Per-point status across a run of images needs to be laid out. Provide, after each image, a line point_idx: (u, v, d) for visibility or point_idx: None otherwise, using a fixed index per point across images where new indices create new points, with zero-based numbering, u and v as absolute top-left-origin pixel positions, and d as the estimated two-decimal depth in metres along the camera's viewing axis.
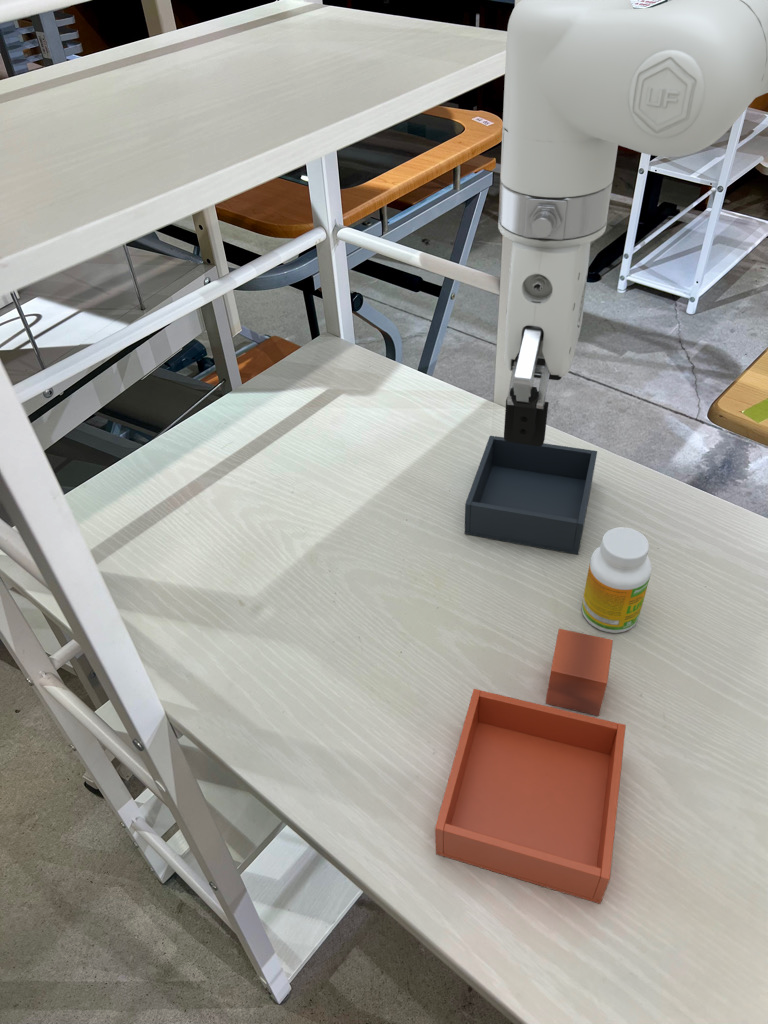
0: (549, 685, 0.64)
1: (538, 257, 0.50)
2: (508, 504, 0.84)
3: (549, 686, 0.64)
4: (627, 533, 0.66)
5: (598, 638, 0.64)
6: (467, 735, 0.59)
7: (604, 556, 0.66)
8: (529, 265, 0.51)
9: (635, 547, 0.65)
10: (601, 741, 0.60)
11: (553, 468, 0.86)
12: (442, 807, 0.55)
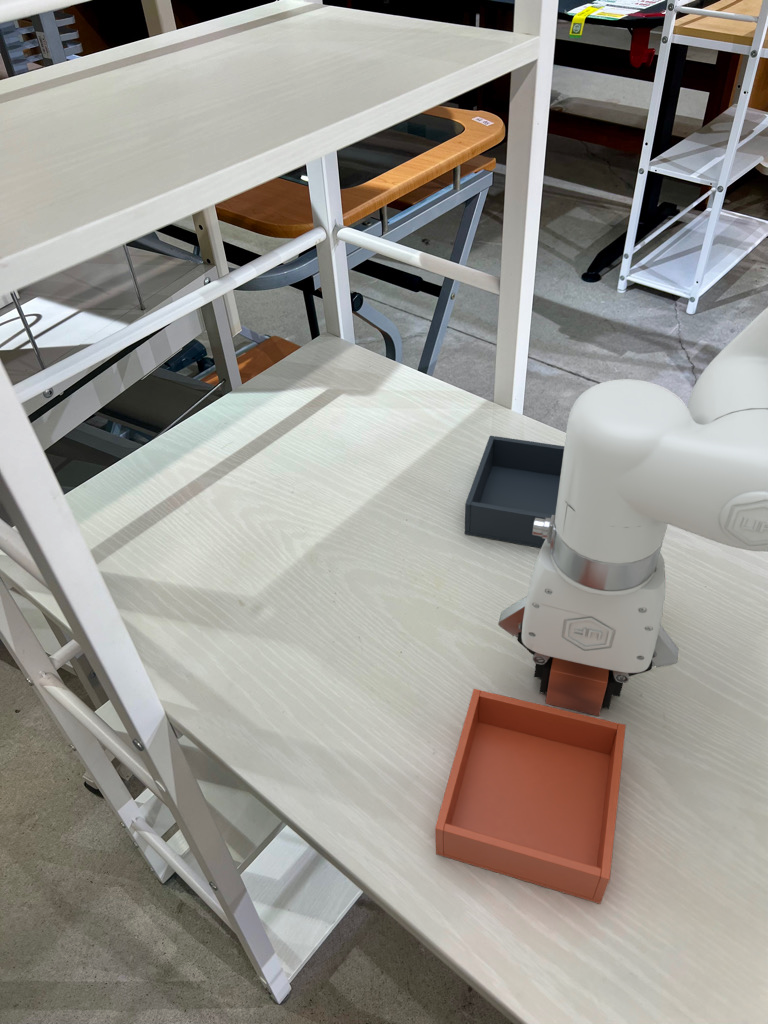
0: (549, 685, 0.64)
1: (541, 548, 0.56)
2: (508, 504, 0.84)
3: (549, 686, 0.64)
4: None
5: None
6: (467, 735, 0.59)
7: None
8: None
9: None
10: (601, 741, 0.60)
11: (553, 468, 0.86)
12: (442, 807, 0.55)
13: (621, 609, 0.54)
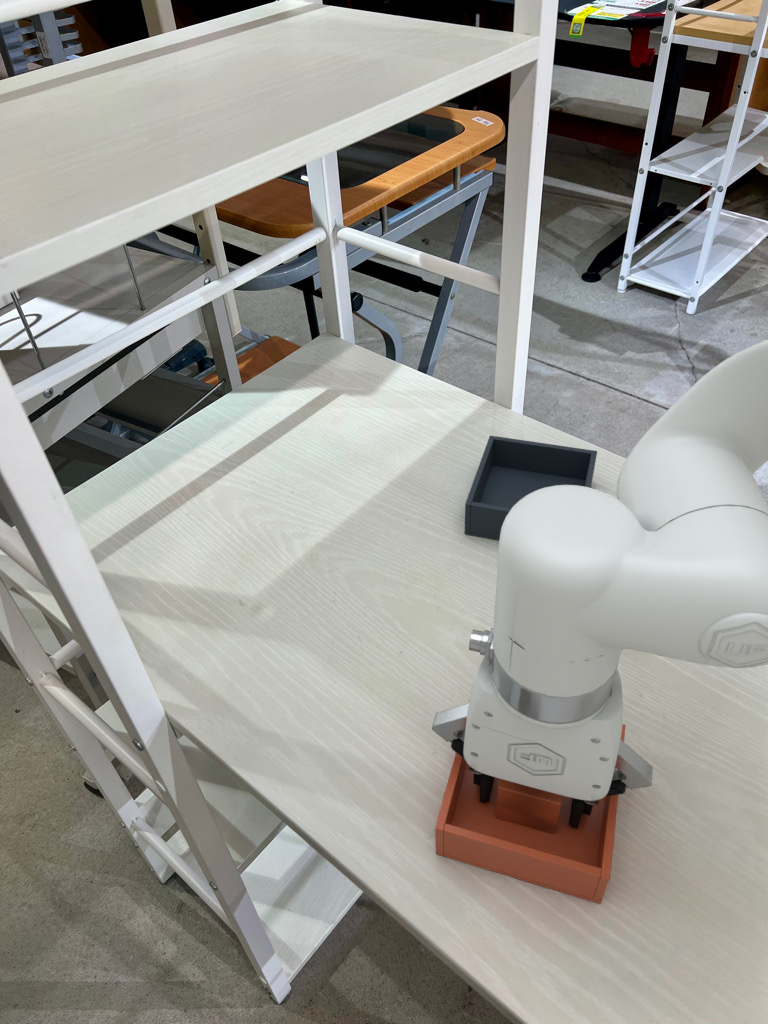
0: (497, 801, 0.56)
1: None
2: (508, 504, 0.84)
3: (498, 802, 0.56)
4: None
5: None
6: None
7: None
8: None
9: None
10: None
11: (553, 468, 0.86)
12: (442, 807, 0.55)
13: (571, 738, 0.46)
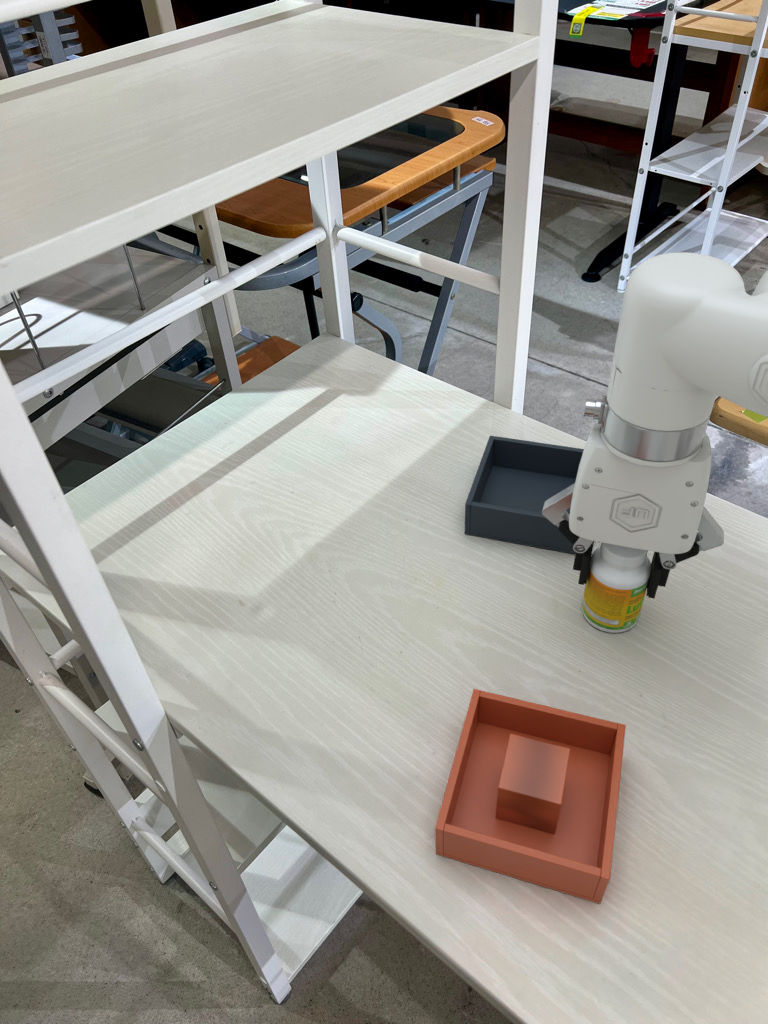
0: (497, 801, 0.56)
1: (591, 431, 0.59)
2: (508, 504, 0.84)
3: (498, 802, 0.56)
4: None
5: (554, 746, 0.56)
6: (467, 735, 0.59)
7: (604, 556, 0.66)
8: None
9: None
10: (601, 741, 0.60)
11: (553, 468, 0.86)
12: (442, 807, 0.55)
13: (669, 484, 0.57)
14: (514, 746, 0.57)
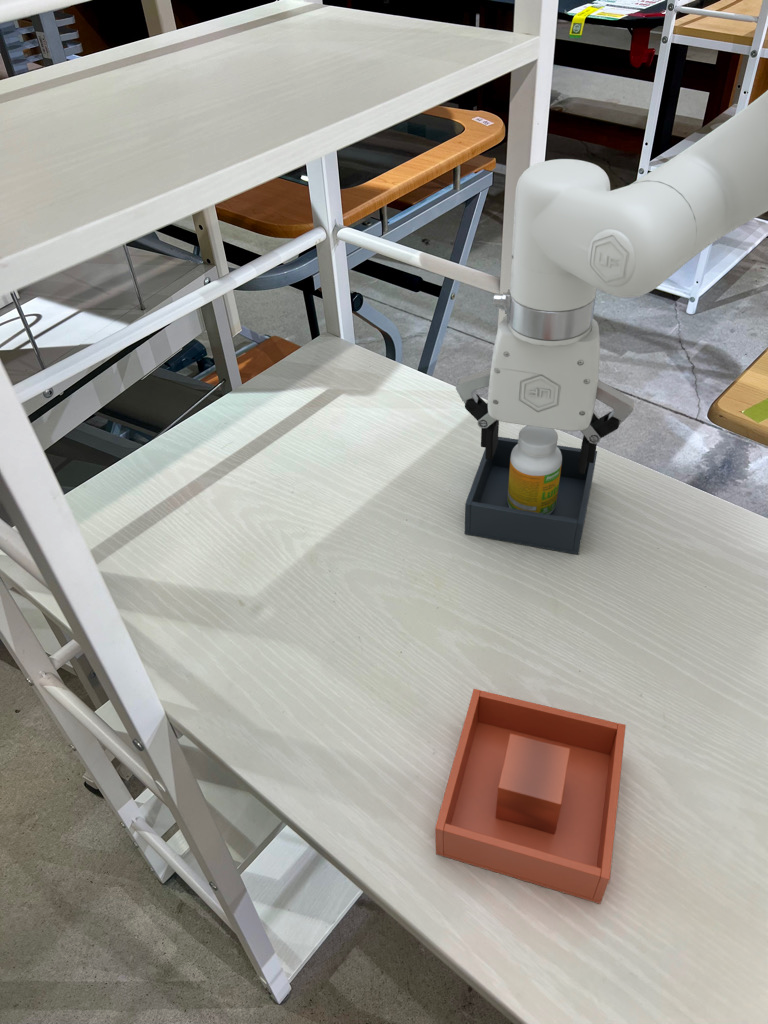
0: (497, 801, 0.56)
1: None
2: None
3: (498, 802, 0.56)
4: (540, 428, 0.78)
5: (554, 746, 0.56)
6: (467, 735, 0.59)
7: (520, 447, 0.77)
8: None
9: (545, 438, 0.76)
10: (601, 741, 0.60)
11: None
12: (442, 807, 0.55)
13: (564, 363, 0.67)
14: (514, 746, 0.57)
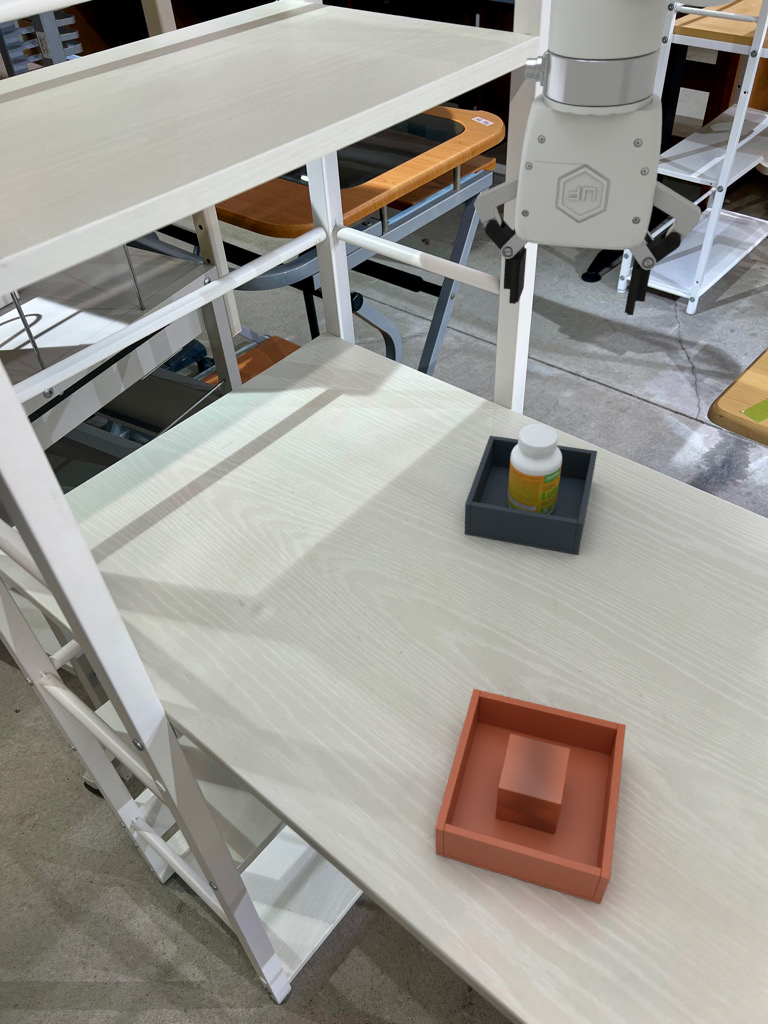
0: (497, 801, 0.56)
1: None
2: None
3: (498, 802, 0.56)
4: (540, 428, 0.78)
5: (554, 746, 0.56)
6: (467, 735, 0.59)
7: (520, 447, 0.77)
8: None
9: (545, 438, 0.76)
10: (601, 741, 0.60)
11: None
12: (442, 807, 0.55)
13: (616, 146, 0.52)
14: (514, 746, 0.57)
